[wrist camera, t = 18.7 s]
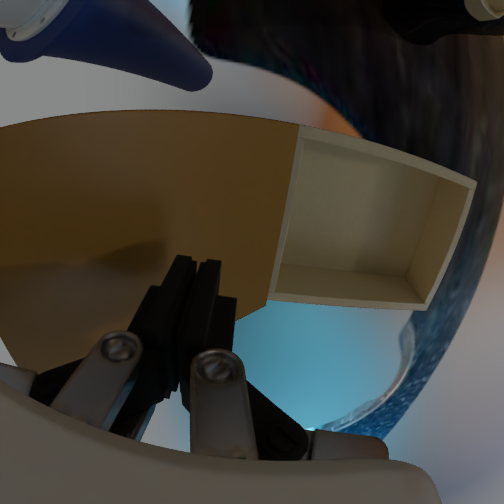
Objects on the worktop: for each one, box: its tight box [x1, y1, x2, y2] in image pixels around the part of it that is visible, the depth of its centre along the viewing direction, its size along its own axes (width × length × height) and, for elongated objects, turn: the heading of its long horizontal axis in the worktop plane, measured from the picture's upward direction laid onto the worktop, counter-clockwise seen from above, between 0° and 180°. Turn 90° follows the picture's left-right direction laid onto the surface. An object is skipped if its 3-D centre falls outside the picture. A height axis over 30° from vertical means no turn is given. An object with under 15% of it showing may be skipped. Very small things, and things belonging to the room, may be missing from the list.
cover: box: [0, 110, 299, 374], centre depth 13 cm, size 16×13×5 cm
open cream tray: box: [267, 125, 477, 311], centre depth 20 cm, size 16×13×5 cm
